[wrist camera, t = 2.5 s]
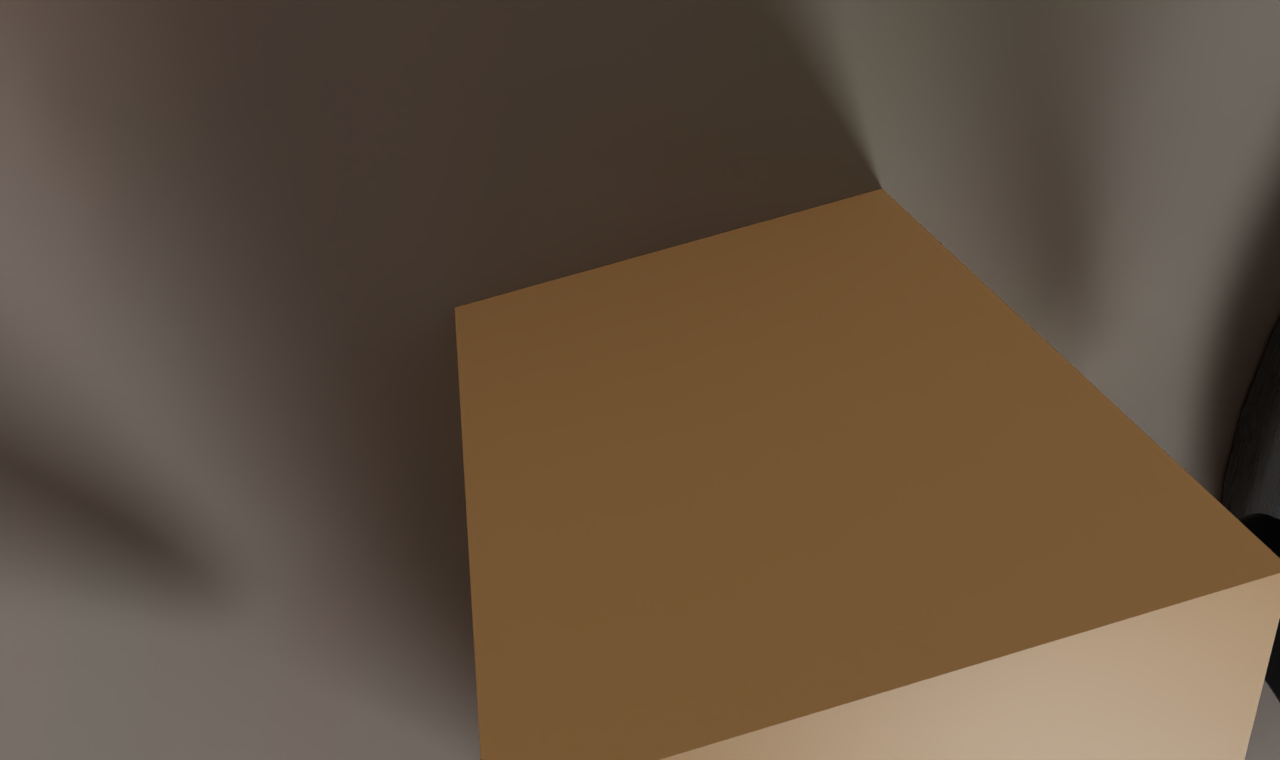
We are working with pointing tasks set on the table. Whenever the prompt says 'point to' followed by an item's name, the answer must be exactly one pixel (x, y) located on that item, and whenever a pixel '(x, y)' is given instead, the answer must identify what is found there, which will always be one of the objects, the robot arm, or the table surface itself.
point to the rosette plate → (1257, 444)
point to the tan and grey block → (833, 520)
